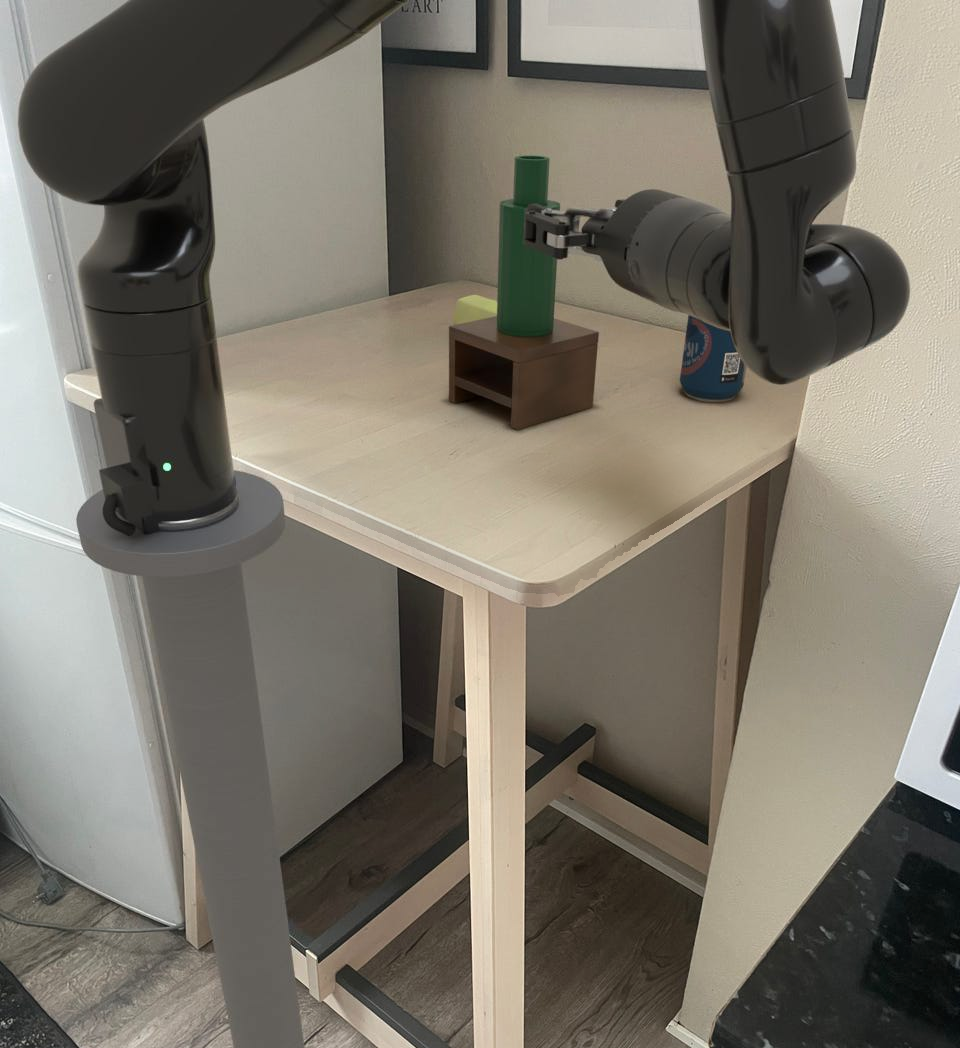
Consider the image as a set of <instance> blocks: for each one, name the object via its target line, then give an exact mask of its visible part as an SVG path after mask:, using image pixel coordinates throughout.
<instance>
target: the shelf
mask: <svg viewBox="0 0 960 1048" xmlns="http://www.w3.org/2000/svg"><path fill="white" fill-rule="evenodd" d="M599 336H600V332H599V331H597V330H593V329H590V328H587V327H584V326H580V325H577V324H574V323H571V322H567V321H564V320H561V319H558V318H555V317H554V323H553V331H552V332H551V333H550V334H547V335H544V336H538V337H518V336H511V335H507V334H503V333H501V332H499V331H498V330H497V316H495V317H490V318H485V319H480V320H476V321H471V322H466V323H462V324H457V325H454V324H453V325H449V326H448V401H449V402H451V403H453V404H457V403H460V402H464V401H468V400H473V399H475V398H480V397H482V398H485V399H488V400H490V401H493V402H495V403H497V404H500V405H502V406H505V407H508V408H510V409H511V410H510V411H511V412H510V413H511V414H510V416H511V417H510V428H512V429H514V430H516V431H518V430H522V429H525V428H528V427H532V426H535V425H538V424H541V423H544V422H548V421H551V420H554V419H558V418H561V417H564V416H565V417H566V416H568V415H572V414H574V413H578V412H580V411H584V410H587V409H591V408H593V407H594V395H595V383H596V370H597V359H598V358H597V357H598V348H599V347H598V346H599V338H600V337H599Z"/></svg>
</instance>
